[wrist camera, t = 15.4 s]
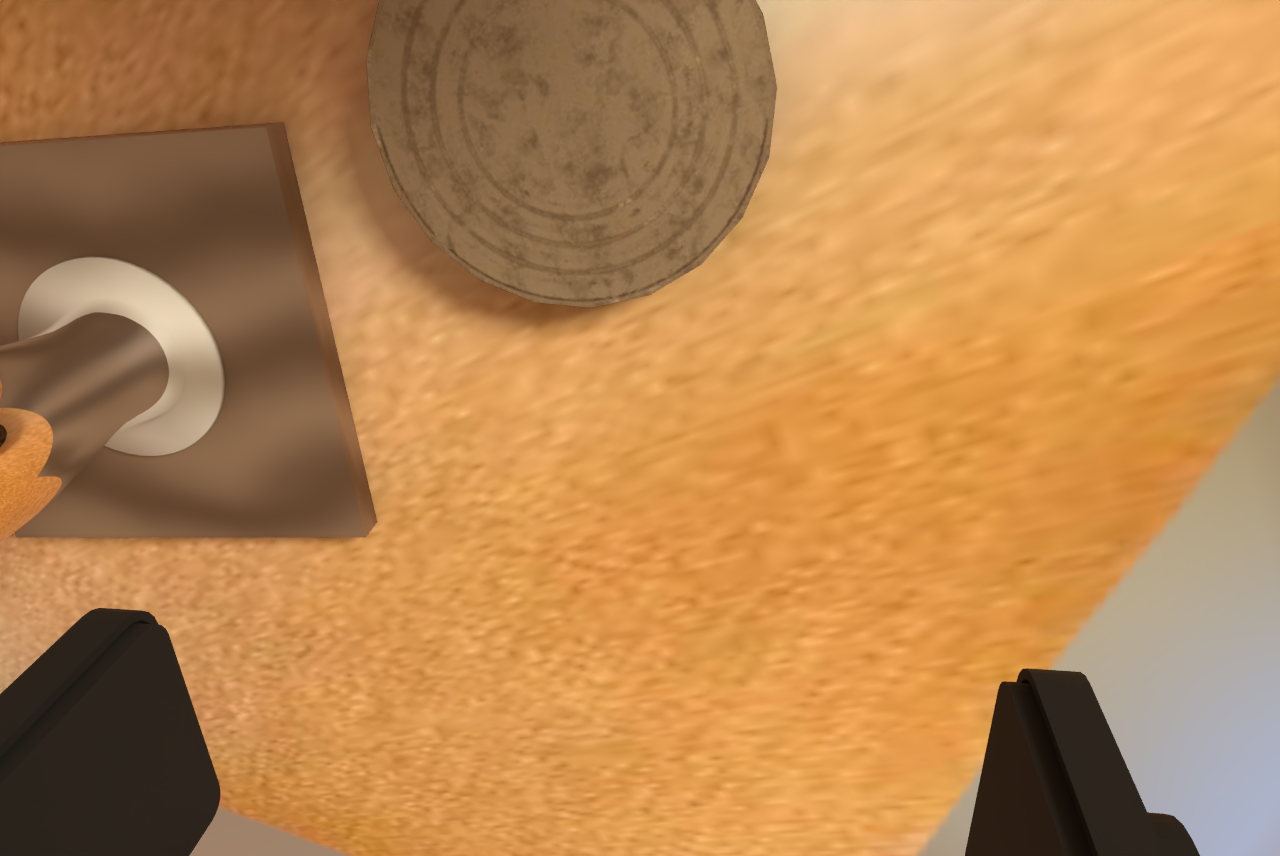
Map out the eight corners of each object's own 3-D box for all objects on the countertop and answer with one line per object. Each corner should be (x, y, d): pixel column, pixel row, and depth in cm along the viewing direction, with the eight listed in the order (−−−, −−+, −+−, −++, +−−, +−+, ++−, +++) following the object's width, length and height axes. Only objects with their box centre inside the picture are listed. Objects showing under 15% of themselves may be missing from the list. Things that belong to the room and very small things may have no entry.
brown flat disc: (323, -9, 36) (288, -9, 34) (684, -210, 32) (677, -229, 29) (502, 336, 42) (484, 359, 39) (830, 205, 38) (835, 221, 35)
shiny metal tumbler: (37, 281, 41) (-314, 420, 28) (180, 293, 41) (-109, 441, 27) (73, 418, 44) (-228, 602, 31) (206, 431, 44) (-42, 625, 30)
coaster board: (-120, 151, 42) (-158, 158, 40) (283, 122, 39) (261, 128, 37) (36, 522, 50) (11, 541, 48) (377, 521, 47) (362, 541, 45)
